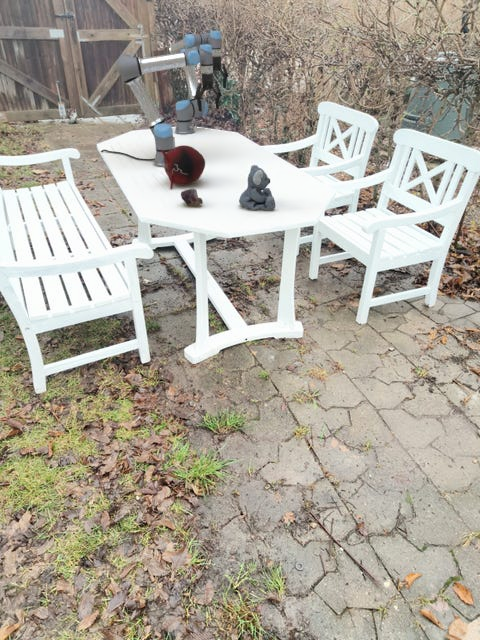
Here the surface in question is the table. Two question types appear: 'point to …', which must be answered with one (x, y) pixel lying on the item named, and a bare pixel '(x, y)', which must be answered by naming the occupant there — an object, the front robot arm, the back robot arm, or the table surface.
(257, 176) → the koala plush
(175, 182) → the red pot
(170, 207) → the table surface
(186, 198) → the rock
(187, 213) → the table surface
